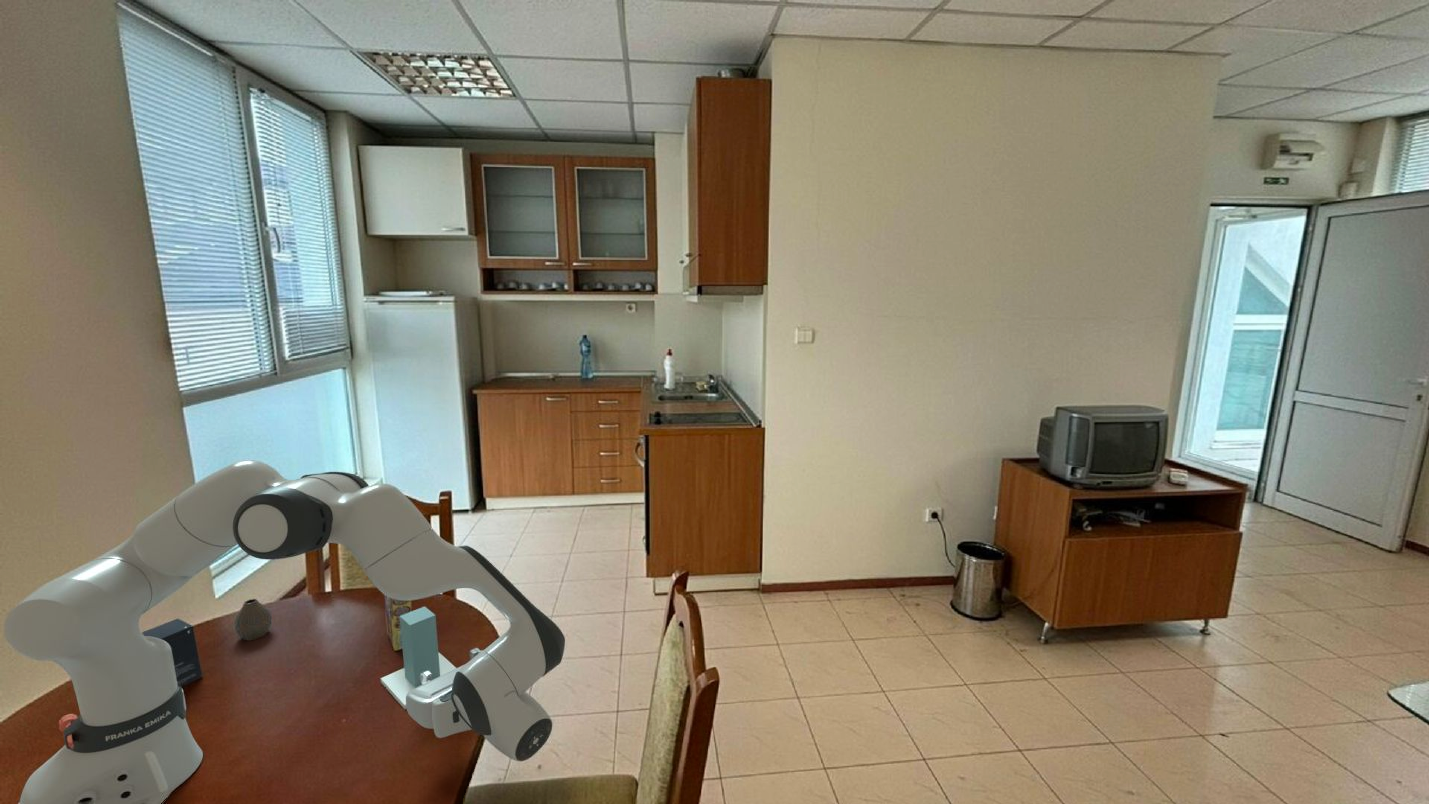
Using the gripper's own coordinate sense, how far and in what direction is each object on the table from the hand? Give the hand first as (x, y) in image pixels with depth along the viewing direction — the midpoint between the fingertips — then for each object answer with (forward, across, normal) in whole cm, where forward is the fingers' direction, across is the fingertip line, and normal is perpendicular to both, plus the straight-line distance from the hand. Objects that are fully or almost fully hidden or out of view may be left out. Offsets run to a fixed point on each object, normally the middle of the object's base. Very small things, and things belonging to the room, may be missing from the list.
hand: (449, 663), depth 111 cm
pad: (+13, 0, +10) cm, 16 cm away
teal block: (+13, 0, +9) cm, 16 cm away
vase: (+59, +19, +10) cm, 63 cm away
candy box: (+32, -3, +10) cm, 34 cm away
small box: (+50, +37, +10) cm, 63 cm away
